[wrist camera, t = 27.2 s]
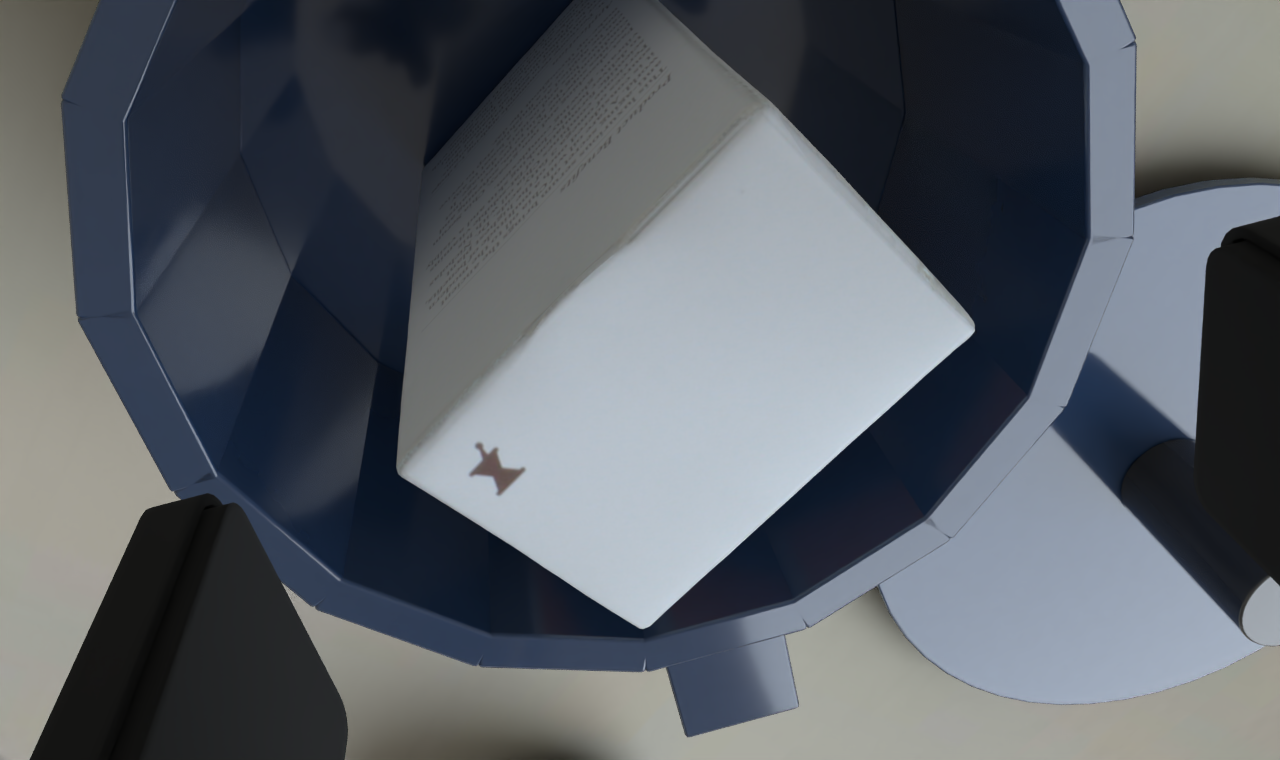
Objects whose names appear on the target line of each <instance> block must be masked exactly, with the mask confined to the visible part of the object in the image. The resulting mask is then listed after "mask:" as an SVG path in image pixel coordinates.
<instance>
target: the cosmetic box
mask: <svg viewBox="0 0 1280 760" xmlns="http://www.w3.org/2000/svg"><path fill="white" fill-rule="evenodd" d="M974 332H975V324H974V322H973V320H972V319H971V318H970V316H969V315H968V313H967V312H966V311H965V310H964V309H963V307H962V306H961V305H960V304H959V303H958V302H957V301H956V300H955V298H954V297H953V296H952V295H951V294H950V293H949V292H948V291H947V290H946V289H945V287H944V286H943V285H942V284H941V283H940V282H939V281H938V280H937V279H936V277H935V276H934V275H933V274H932V273H931V272H930V271H929V270H928V269H927V268H926V266H925V265H924V264H923V263H922V262H921V261H920V260H919V259H918V258H917V256H916V255H915V254H914V253H913V252H912V251H911V250H910V249H909V248H908V247H907V246H906V245H905V244H904V243H903V241H902V240H901V239H900V238H899V237H898V236H897V235H896V234H895V233H894V232H893V231H892V230H891V229H890V228H889V226H888V225H887V224H886V223H885V222H884V221H883V220H882V219H881V218H880V217H879V216H878V215H877V214H876V213H875V211H874V210H873V209H872V208H871V207H870V206H869V205H868V204H867V203H866V202H865V201H864V199H863V198H862V197H861V196H860V195H859V194H858V193H857V192H856V191H855V190H854V189H853V187H852V186H851V185H850V184H849V183H848V182H847V181H846V180H845V179H844V178H843V176H842V175H841V174H840V173H839V172H838V171H837V170H836V169H835V168H834V167H833V166H832V165H831V164H830V162H829V161H828V160H827V159H826V158H825V157H824V156H823V155H822V154H821V153H820V152H819V151H818V150H817V149H816V148H815V147H814V146H813V145H812V144H811V143H810V142H809V141H808V140H807V139H806V138H805V136H804V135H803V134H802V133H801V132H800V131H799V130H798V129H797V128H796V127H795V126H794V125H793V124H792V123H791V122H790V121H789V120H788V119H787V118H786V117H785V116H784V115H783V114H782V113H781V112H780V111H779V110H778V109H777V108H776V107H775V106H774V105H773V104H772V103H771V102H770V101H769V100H768V99H767V98H766V97H765V96H763V95H762V94H761V93H760V92H759V91H758V90H756V89H755V88H754V87H753V86H752V85H750V84H749V83H748V82H747V81H746V80H745V79H743V78H742V77H741V76H740V75H739V74H738V73H736V72H735V71H734V70H733V69H732V68H731V67H730V66H728V65H727V64H726V63H725V62H724V61H723V60H722V59H720V58H719V57H718V56H717V55H716V54H715V53H713V52H712V51H711V50H710V49H709V48H708V47H707V46H706V45H705V44H704V43H703V42H702V41H701V40H700V39H699V38H698V37H696V36H695V35H694V34H693V33H692V32H691V31H690V30H689V29H688V28H687V27H686V26H685V25H684V24H682V23H681V22H680V21H679V20H678V19H677V18H676V17H675V16H674V15H673V14H672V13H671V12H670V11H669V10H668V9H667V8H666V7H665V6H663V5H662V4H661V3H660V2H659V1H658V0H573V1H572V2H571V3H570V5H569V6H568V7H567V8H566V9H565V10H564V11H563V12H562V13H561V15H560V16H559V17H558V18H557V19H556V20H555V21H554V22H553V24H552V25H551V26H550V27H549V28H548V29H547V30H546V31H545V33H544V34H543V35H542V36H541V37H540V38H539V39H538V41H537V42H536V43H535V44H534V45H533V46H532V47H531V48H530V50H529V51H528V52H527V53H526V54H525V55H524V56H523V57H522V58H521V59H520V60H519V61H518V63H517V64H516V65H515V66H514V67H513V68H512V69H511V71H510V72H509V73H508V74H507V75H506V76H505V77H504V78H503V80H502V81H501V82H500V83H499V84H498V85H497V86H496V87H495V89H494V90H493V91H492V92H491V93H490V94H489V95H488V96H487V97H486V99H485V100H484V101H483V102H482V103H481V104H480V105H479V107H478V108H477V109H476V110H475V111H474V112H473V113H472V115H471V116H470V117H469V118H468V119H467V120H466V121H465V122H464V124H463V125H462V126H461V127H460V128H459V129H458V130H457V131H456V133H455V134H454V135H453V136H452V137H451V138H450V139H449V140H448V142H447V143H446V144H445V145H444V146H443V147H442V148H441V150H440V151H439V152H438V153H437V154H436V155H435V156H434V157H433V158H432V159H431V161H430V162H429V163H428V164H427V165H426V166H425V167H424V169H423V171H422V178H421V188H420V199H419V210H418V222H417V235H416V247H415V259H414V270H413V280H412V293H411V303H410V315H409V324H408V339H407V349H406V359H405V369H404V379H403V389H402V399H401V413H400V424H399V436H398V450H397V464H396V468H397V472H398V474H399V475H400V476H401V477H402V478H404V479H406V480H407V481H409V482H410V483H412V484H414V485H415V486H417V487H419V488H420V489H422V490H423V491H425V492H427V493H428V494H430V495H431V496H433V497H435V498H436V499H438V500H439V501H441V502H443V503H444V504H446V505H448V506H449V507H451V508H452V509H454V510H456V511H457V512H459V513H460V514H462V515H464V516H465V517H467V518H468V519H470V520H472V521H473V522H475V523H476V524H478V525H480V526H481V527H483V528H484V529H486V530H488V531H489V532H491V533H492V534H494V535H495V536H497V537H499V538H500V539H502V540H503V541H505V542H507V543H508V544H510V545H511V546H513V547H515V548H516V549H517V550H519V551H520V552H522V553H523V554H525V555H526V556H528V557H529V558H531V559H532V560H534V561H535V562H537V563H538V564H540V565H541V566H543V567H544V568H546V569H547V570H549V571H550V572H552V573H554V574H555V575H557V576H558V577H560V578H561V579H563V580H564V581H566V582H567V583H568V584H570V585H571V586H573V587H574V588H576V589H577V590H579V591H580V592H582V593H583V594H585V595H587V596H588V597H590V598H591V599H593V600H594V601H596V602H597V603H599V604H601V605H602V606H604V607H605V608H607V609H609V610H610V611H612V612H614V613H615V614H617V615H618V616H620V617H622V618H623V619H625V620H626V621H628V622H630V623H631V624H633V625H635V626H636V627H638V628H640V629H644V628H647V627H649V626H651V625H652V624H653V623H654V622H655V621H656V620H657V619H658V618H659V617H660V616H661V615H662V614H663V613H664V612H666V611H667V610H668V609H669V608H670V607H671V606H672V605H673V604H674V603H675V602H676V601H678V600H679V599H680V598H681V597H682V596H683V595H684V594H685V593H686V592H687V591H689V590H690V589H691V588H692V587H693V586H694V585H695V584H696V583H697V582H698V581H699V580H701V579H702V578H703V577H704V576H705V575H706V574H707V573H708V572H709V571H711V570H712V569H713V568H714V567H715V566H716V565H717V564H718V563H720V562H721V561H722V560H723V559H724V558H725V557H726V556H728V555H729V554H730V553H731V552H732V551H733V550H734V549H735V548H736V547H737V546H738V545H740V544H741V543H742V542H743V541H744V540H745V539H746V538H747V537H748V536H749V535H750V534H752V533H753V532H754V531H755V530H756V529H757V528H758V527H759V526H760V525H762V524H763V523H764V522H765V521H766V520H767V519H768V518H769V517H770V516H771V515H773V514H774V513H775V512H776V511H777V510H778V509H779V508H780V507H781V506H782V505H783V504H785V503H786V502H787V501H788V500H789V499H790V498H791V497H792V496H793V495H794V494H796V493H797V492H798V491H799V490H800V489H801V488H802V487H803V486H804V485H805V484H806V483H808V482H809V481H810V480H811V479H812V478H813V477H814V476H815V475H816V474H817V473H818V472H820V471H821V470H822V469H823V468H824V467H825V466H826V465H827V464H828V463H829V462H831V461H832V460H833V459H834V458H835V457H836V456H837V455H838V454H839V453H840V452H841V451H843V450H844V449H845V448H846V447H847V446H848V445H849V444H850V443H851V442H852V441H853V440H855V439H856V438H857V437H858V436H859V435H860V434H861V433H862V432H864V431H865V430H866V429H867V428H868V427H869V426H870V425H871V424H873V423H874V422H875V421H876V420H877V419H878V418H879V417H880V416H882V415H883V414H884V413H885V412H886V411H887V410H888V409H889V408H890V407H891V406H893V405H894V404H895V403H896V402H897V401H898V400H899V399H900V398H901V397H903V396H904V395H905V394H906V393H907V392H908V391H909V390H910V389H911V388H912V387H914V386H915V385H916V384H917V383H918V382H919V381H920V380H921V379H922V378H923V377H924V376H925V375H927V374H928V373H929V372H930V371H931V370H932V369H934V368H935V367H936V366H937V365H938V364H939V363H940V362H942V361H943V360H944V359H945V358H946V357H947V356H948V355H950V354H951V353H952V352H953V351H954V350H955V349H956V348H958V347H959V346H960V345H961V344H962V343H964V342H965V341H966V340H967V339H968V338H970V336H971V335H972V334H973V333H974Z"/></svg>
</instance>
